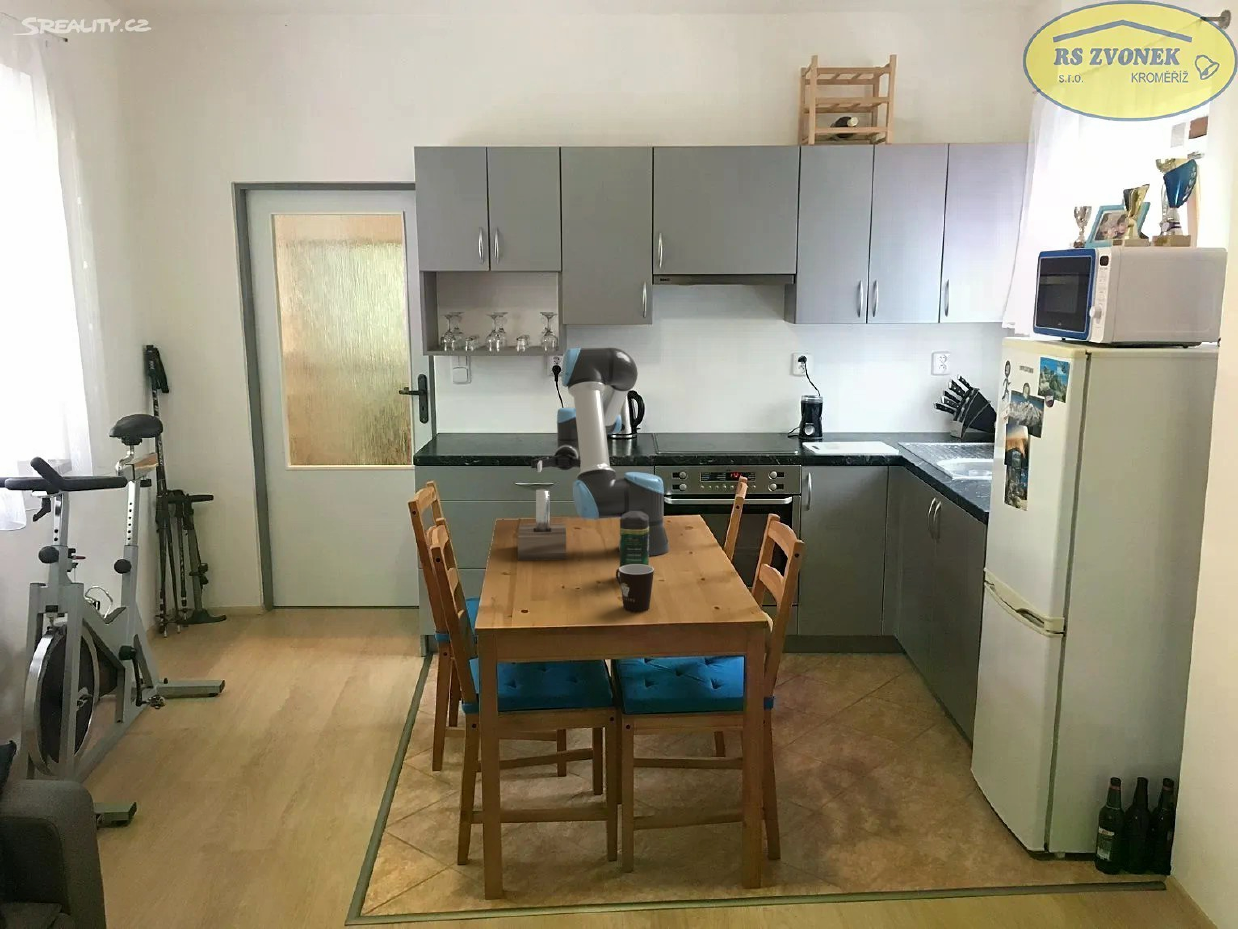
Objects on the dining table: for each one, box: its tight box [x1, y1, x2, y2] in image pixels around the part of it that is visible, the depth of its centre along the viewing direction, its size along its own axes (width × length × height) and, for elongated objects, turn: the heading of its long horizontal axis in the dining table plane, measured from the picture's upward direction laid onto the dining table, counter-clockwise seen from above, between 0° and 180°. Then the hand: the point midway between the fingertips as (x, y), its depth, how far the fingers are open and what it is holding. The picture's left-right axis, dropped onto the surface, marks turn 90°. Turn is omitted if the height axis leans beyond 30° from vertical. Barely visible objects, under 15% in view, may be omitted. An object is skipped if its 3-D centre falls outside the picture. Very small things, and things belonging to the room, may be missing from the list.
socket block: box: [517, 522, 567, 561], centre depth 289 cm, size 16×14×7 cm
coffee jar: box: [619, 511, 650, 568], centre depth 261 cm, size 10×8×19 cm
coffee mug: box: [615, 564, 655, 613], centre depth 239 cm, size 12×9×10 cm
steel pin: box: [535, 488, 551, 532], centre depth 288 cm, size 4×4×17 cm
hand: (560, 468), depth 305 cm, fingers open, 13 cm apart
